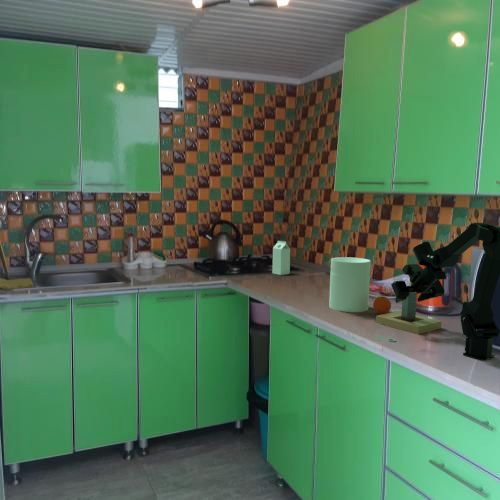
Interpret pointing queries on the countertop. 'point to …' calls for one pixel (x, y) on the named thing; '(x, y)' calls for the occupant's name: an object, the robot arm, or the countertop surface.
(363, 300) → the canister
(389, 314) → the olive square-hole block
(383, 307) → the clementine
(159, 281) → the countertop surface
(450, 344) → the countertop surface
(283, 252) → the milk carton
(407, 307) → the bracket
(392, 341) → the mounting bracket
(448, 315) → the countertop surface
